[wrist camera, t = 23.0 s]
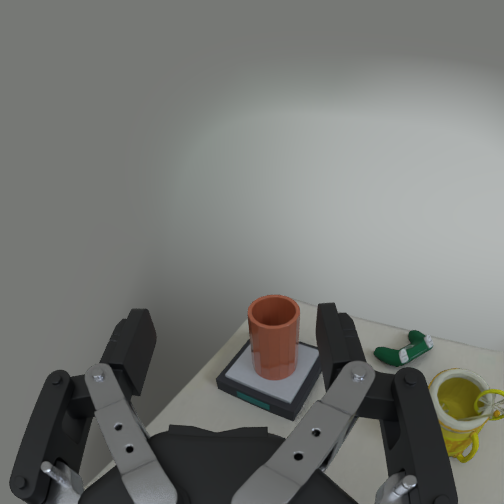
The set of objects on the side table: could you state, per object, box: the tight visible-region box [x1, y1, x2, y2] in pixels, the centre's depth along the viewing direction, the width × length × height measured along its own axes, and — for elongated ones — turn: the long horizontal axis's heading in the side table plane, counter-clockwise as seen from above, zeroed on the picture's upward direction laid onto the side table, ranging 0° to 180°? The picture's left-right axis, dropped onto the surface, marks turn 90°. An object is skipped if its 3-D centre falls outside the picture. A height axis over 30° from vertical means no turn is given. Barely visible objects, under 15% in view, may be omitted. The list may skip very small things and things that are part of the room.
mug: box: [428, 368, 504, 463], centre depth 28 cm, size 13×11×12 cm
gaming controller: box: [374, 330, 433, 367], centre depth 43 cm, size 9×4×6 cm
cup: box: [248, 295, 300, 380], centre depth 40 cm, size 6×6×10 cm
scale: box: [216, 339, 322, 421], centre depth 43 cm, size 12×12×3 cm
